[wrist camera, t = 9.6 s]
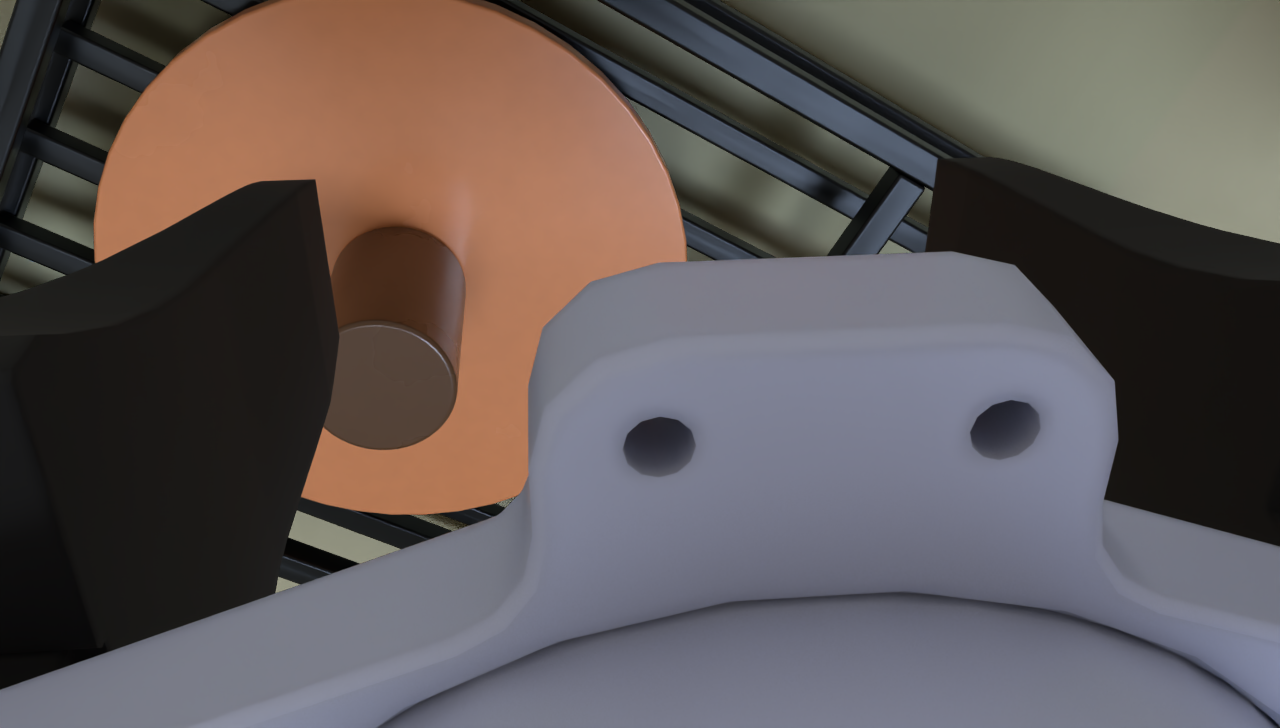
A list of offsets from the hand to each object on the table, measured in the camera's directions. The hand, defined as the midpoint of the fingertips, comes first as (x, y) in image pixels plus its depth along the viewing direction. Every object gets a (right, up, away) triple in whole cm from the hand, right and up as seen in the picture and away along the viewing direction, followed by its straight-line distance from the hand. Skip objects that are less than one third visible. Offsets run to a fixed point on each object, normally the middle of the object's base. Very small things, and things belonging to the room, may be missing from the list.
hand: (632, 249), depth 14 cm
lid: (-4, 0, +8) cm, 9 cm away
